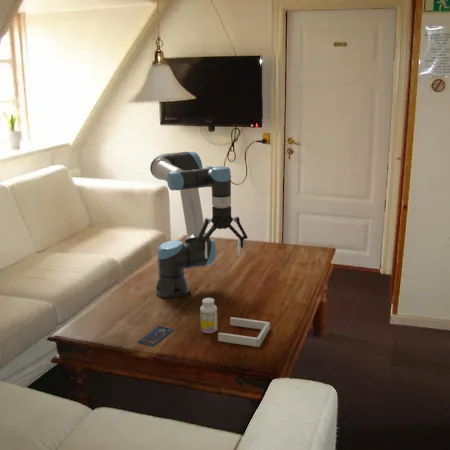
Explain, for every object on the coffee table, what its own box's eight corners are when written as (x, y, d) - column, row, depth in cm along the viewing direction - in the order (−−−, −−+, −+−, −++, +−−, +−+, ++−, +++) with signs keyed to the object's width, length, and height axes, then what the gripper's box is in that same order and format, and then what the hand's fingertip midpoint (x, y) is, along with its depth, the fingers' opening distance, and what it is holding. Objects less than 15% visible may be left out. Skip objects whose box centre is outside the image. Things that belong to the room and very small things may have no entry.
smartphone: (136, 341, 221) (158, 325, 234) (136, 343, 221) (158, 327, 234) (153, 345, 218) (174, 329, 230) (153, 347, 218) (174, 330, 231)
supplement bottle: (208, 324, 234) (207, 295, 231) (221, 329, 230) (220, 299, 227) (197, 330, 229) (196, 300, 226) (210, 335, 225) (209, 305, 222)
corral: (218, 340, 221) (218, 333, 220) (231, 323, 235) (230, 317, 234) (259, 347, 216) (259, 339, 215) (269, 329, 229) (269, 322, 229)
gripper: (191, 210, 225) (193, 261, 231) (254, 206, 228) (254, 257, 234) (189, 205, 232) (191, 255, 238) (250, 201, 235) (251, 251, 241)
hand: (222, 256), depth 236 cm, fingers open, 13 cm apart
